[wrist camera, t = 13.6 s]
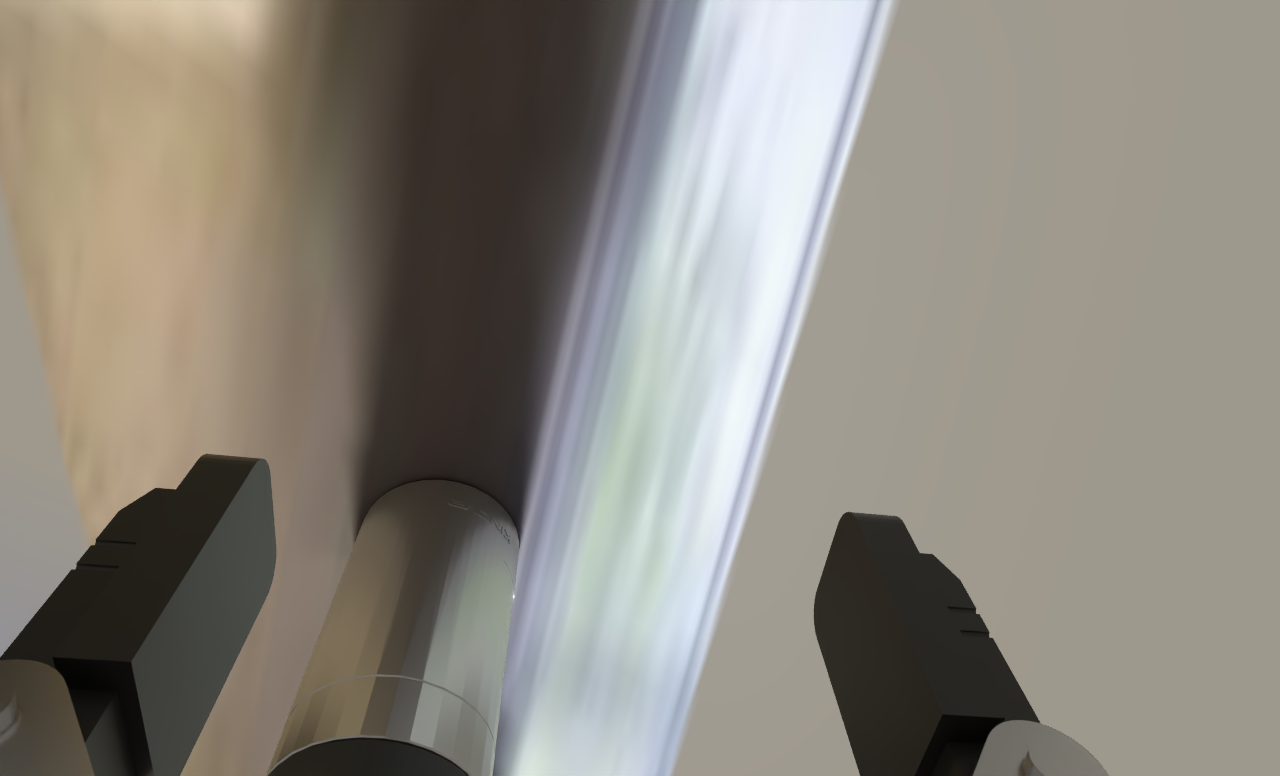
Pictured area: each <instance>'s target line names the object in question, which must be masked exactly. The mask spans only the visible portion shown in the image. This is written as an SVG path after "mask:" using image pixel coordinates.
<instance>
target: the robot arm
mask: <svg viewBox="0 0 1280 776" xmlns="http://www.w3.org/2000/svg"><path fill="white" fill-rule="evenodd" d="M518 553H519V539H518V533H517V529H516V527H515V525H514V523H513V521H512V519H511V517H510V516H509V514H508V513H507V512H506V511H505V509H504V508H503V507H502V506H501V505H500V504H499V503H498V502H496V501H495V500H494V499H493V498H491V497H490V496H489V495H487V494H485V493H483V492H482V491H480V490H478V489H476V488H474V487H471V486H468V485H465V484H462V483H459V482H453V481H446V480H422V481H416V482H411V483H407V484H404V485H402V486H399V487H397V488H394V489H392V490H391V491H389V492H388V493H386V494H385V495H383V496H382V497H380V498H379V499H378V500H377V501H376V502H375V503H374V504H373V506H372V507H371V508H370V509H369V511H368V513H367V515H366V517H365V519H364V521H363V523H362V526H361V528H360V531H359V533H358V536H357V539H356V541H355V544H354V546H353V549H352V552H351V554H350V557H349V559H348V562H347V564H346V567H345V569H344V572H343V574H342V577H341V580H340V582H339V585H338V587H337V590H336V593H335V595H334V598H333V601H332V603H331V606H330V608H329V611H328V614H327V616H326V619H325V621H324V624H323V627H322V629H321V632H320V635H319V637H318V640H317V642H316V645H315V648H314V650H313V653H312V656H311V658H310V661H309V663H308V666H307V669H306V671H305V674H304V676H303V679H302V682H301V684H300V687H299V690H298V692H297V695H296V697H295V700H294V703H293V705H292V708H291V710H290V713H289V716H288V718H287V721H286V724H285V726H284V729H283V732H282V735H281V738H280V740H279V743H278V745H277V748H276V751H275V753H274V756H273V758H272V761H271V764H270V766H269V769H268V771H267V774H266V776H493V767H494V759H495V748H496V740H497V731H498V723H499V714H500V706H501V697H502V689H503V680H504V672H505V663H506V655H507V647H508V638H509V630H510V621H511V613H512V604H513V597H514V589H515V580H516V571H517V562H518ZM275 563H276V539H275V526H274V514H273V501H272V489H271V477H270V469H269V465H268V463H267V461H266V460H265V459H258V458H247V457H236V456H224V455H213V454H205V455H203V456H201V457H200V458H199V459H198V461H197V462H196V463H195V465H194V466H193V467H192V469H191V470H190V471H189V473H188V474H187V475H186V477H185V478H184V479H183V481H182V482H181V484H180V485H179V486H178V488H177V489H176V490H175V489H163V488H155V489H153V490H152V491H150V492H148V493H147V494H145V495H144V496H142V497H140V498H139V499H137V500H136V501H134V502H133V503H131V504H129V505H128V506H126V507H125V508H123V509H121V510H120V511H119V512H118V513H117V514H116V515H115V517H114V518H113V519H112V520H111V521H110V523H109V524H108V525H107V526H106V528H105V529H104V530H103V531H102V533H101V534H100V535H99V536H98V538H97V539H96V543H95V545H91V546H90V547H89V549H88V550H87V551H86V552H85V554H84V555H83V556H82V557H81V559H80V560H79V561H78V562H77V567H76V569H75V570H71V571H70V572H69V573H68V575H67V576H66V577H65V578H64V580H63V581H62V582H61V583H60V584H59V586H58V587H57V588H56V589H55V591H54V592H53V593H52V595H51V596H50V597H49V598H48V599H47V601H46V602H45V603H44V604H43V606H42V607H41V608H40V609H39V611H38V612H37V613H36V614H35V615H34V617H33V618H32V619H31V621H30V622H29V623H28V624H27V625H26V626H25V628H24V629H23V631H21V633H20V634H19V635H18V637H17V638H16V639H15V640H14V642H13V643H12V644H11V645H10V646H9V647H8V649H7V650H6V651H5V652H4V654H3V655H2V656H1V657H0V776H180V774H181V772H182V770H183V768H184V766H185V764H186V762H187V760H188V758H189V756H190V754H191V752H192V749H193V747H194V745H195V743H196V741H197V739H198V737H199V735H200V733H201V731H202V729H203V727H204V725H205V723H206V721H207V719H208V717H209V715H210V712H211V710H212V708H213V706H214V704H215V702H216V700H217V698H218V696H219V694H220V692H221V690H222V688H223V686H224V684H225V682H226V680H227V677H228V675H229V673H230V671H231V669H232V667H233V665H234V663H235V661H236V659H237V657H238V655H239V653H240V651H241V649H242V647H243V645H244V642H245V640H246V638H247V636H248V634H249V632H250V630H251V628H252V626H253V624H254V622H255V620H256V618H257V616H258V614H259V612H260V610H261V607H262V605H263V603H264V601H265V599H266V597H267V595H268V593H269V590H270V587H271V583H272V580H273V576H274V570H275ZM814 625H815V632H816V636H817V640H818V643H819V646H820V649H821V652H822V655H823V659H824V662H825V665H826V668H827V671H828V674H829V678H830V681H831V684H832V687H833V690H834V693H835V696H836V700H837V703H838V706H839V709H840V713H841V716H842V719H843V722H844V725H845V729H846V732H847V735H848V738H849V741H850V745H851V748H852V751H853V754H854V757H855V760H856V764H857V767H858V770H859V773H860V776H1109V775H1108V773H1107V772H1106V770H1105V769H1104V768H1103V766H1102V765H1101V764H1100V763H1099V762H1098V760H1097V759H1096V758H1095V757H1094V756H1093V755H1092V754H1091V753H1090V752H1089V751H1088V750H1086V749H1085V748H1084V747H1083V746H1082V745H1080V744H1079V743H1078V742H1076V741H1075V740H1074V739H1072V738H1070V737H1069V736H1067V735H1065V734H1064V733H1062V732H1060V731H1058V730H1056V729H1054V728H1052V727H1049V726H1046V725H1043V724H1041V723H1040V721H1039V720H1038V718H1037V716H1036V714H1035V712H1034V711H1033V709H1032V707H1031V705H1030V704H1029V702H1028V700H1027V698H1026V696H1025V695H1024V693H1023V691H1022V689H1021V688H1020V686H1019V684H1018V682H1017V681H1016V679H1015V677H1014V675H1013V673H1012V672H1011V670H1010V668H1009V666H1008V664H1007V663H1006V661H1005V659H1004V657H1003V655H1002V654H1001V652H1000V650H999V649H998V647H997V645H996V643H995V641H994V639H993V638H989V631H988V629H987V627H986V625H985V623H984V622H983V620H982V618H981V617H980V615H979V614H976V607H975V606H974V604H973V602H972V600H971V598H970V597H969V595H968V593H967V591H966V590H965V588H964V586H963V584H962V582H961V581H960V580H959V579H958V578H957V577H956V576H955V575H954V574H953V573H952V572H951V571H950V570H949V569H948V568H947V567H946V566H945V565H944V564H942V563H941V562H940V561H939V560H938V559H937V558H936V557H935V556H934V555H933V554H923V553H919V551H918V549H917V547H916V546H915V544H914V542H913V540H912V538H911V536H910V534H909V532H908V530H907V528H906V526H905V524H904V523H903V521H902V520H901V519H900V518H899V517H897V516H887V515H876V514H865V513H852V512H846V513H845V514H843V516H842V517H841V519H840V521H839V523H838V526H837V529H836V532H835V535H834V538H833V541H832V545H831V548H830V551H829V554H828V557H827V560H826V563H825V566H824V570H823V573H822V576H821V579H820V582H819V585H818V589H817V592H816V596H815V603H814Z"/></svg>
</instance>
